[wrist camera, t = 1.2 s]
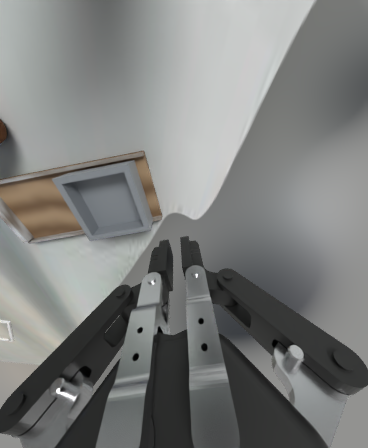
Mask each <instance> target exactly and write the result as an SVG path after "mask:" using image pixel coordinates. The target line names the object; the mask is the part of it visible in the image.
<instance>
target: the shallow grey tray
mask: <svg viewBox="0 0 368 448" xmlns="http://www.w3.org/2000/svg"><path fill="white" fill-rule="evenodd" d="M52 181H53V182H54V184H55V185H56V187H57V189H58V190H59V192H60V194H61V195H62V197H63V198H64V200H65V202H66V203H67V205H68V206H69V208H70V210H71V211H72V213H73V215H74V216H75V218H76V219H77V221H78V223H79V224H80V226H81V228H82V229H83V231H84V232H85V234H86V236H87V237H88V239H89V240H90V241H93V240H98V239H104V238H110V237H115V236H121V235H127V234H132V233H138V232H143V231H149V230H151V226H152V222H153V218H152V214H151V211H150V208H149V205H148V202H147V199H146V195H145V192H144V189H143V186H142V183H141V180H140V177H139V173H138V170H137V167H136V164H135V161H134V160H132V161H127V162H122V163H117V164H112V165H107V166H102V167H97V168H92V169H86V170H81V171H76V172H71V173H67V174H64V175H61V176H59V177H56V178H53V179H52Z"/></svg>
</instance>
